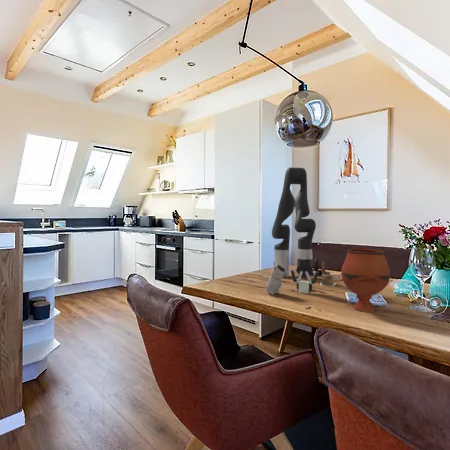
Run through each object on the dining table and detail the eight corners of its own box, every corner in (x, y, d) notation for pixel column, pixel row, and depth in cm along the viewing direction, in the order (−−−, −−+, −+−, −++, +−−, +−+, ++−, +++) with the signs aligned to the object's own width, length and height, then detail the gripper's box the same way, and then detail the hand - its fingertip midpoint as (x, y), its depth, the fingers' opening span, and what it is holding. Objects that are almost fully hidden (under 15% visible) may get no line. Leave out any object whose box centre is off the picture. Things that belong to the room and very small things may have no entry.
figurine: (273, 297, 160) (274, 266, 159) (262, 292, 169) (262, 263, 168) (288, 295, 164) (288, 264, 163) (276, 291, 173) (276, 262, 172)
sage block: (298, 292, 169) (298, 282, 169) (300, 290, 174) (300, 281, 174) (308, 293, 167) (308, 283, 167) (310, 291, 172) (310, 281, 172)
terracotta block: (331, 282, 194) (331, 274, 194) (329, 281, 199) (330, 272, 199) (340, 282, 194) (340, 274, 193) (338, 281, 199) (338, 272, 198)
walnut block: (321, 284, 182) (321, 275, 182) (322, 282, 187) (322, 273, 187) (333, 285, 180) (333, 276, 179) (333, 283, 185) (333, 274, 185)
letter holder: (306, 276, 215) (306, 254, 214) (310, 271, 233) (311, 251, 232) (322, 277, 211) (322, 255, 210) (325, 272, 229) (325, 252, 229)
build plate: (301, 287, 180) (301, 285, 180) (305, 282, 195) (305, 280, 195) (340, 291, 173) (340, 288, 173) (341, 284, 187) (341, 282, 187)
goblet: (365, 318, 127) (366, 253, 126) (330, 305, 145) (331, 248, 144) (400, 312, 135) (401, 251, 134) (363, 301, 152) (364, 247, 152)
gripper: (289, 257, 169) (289, 291, 170) (318, 259, 164) (318, 293, 164) (292, 256, 176) (291, 288, 177) (320, 257, 171) (319, 290, 171)
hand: (304, 290), depth 171 cm, fingers closed on sage block, 5 cm apart
